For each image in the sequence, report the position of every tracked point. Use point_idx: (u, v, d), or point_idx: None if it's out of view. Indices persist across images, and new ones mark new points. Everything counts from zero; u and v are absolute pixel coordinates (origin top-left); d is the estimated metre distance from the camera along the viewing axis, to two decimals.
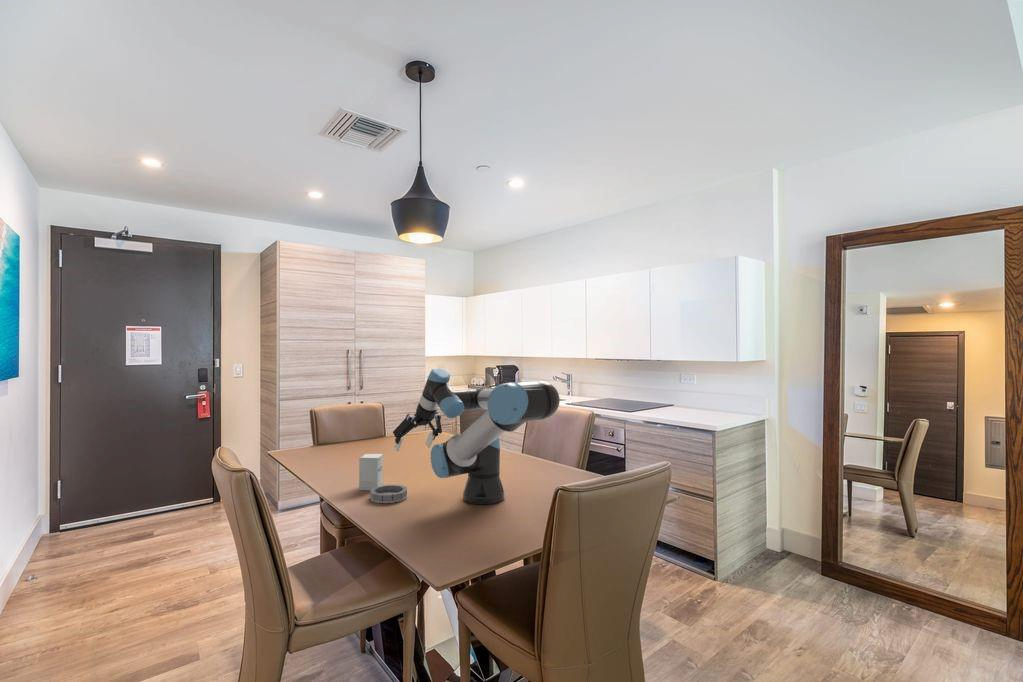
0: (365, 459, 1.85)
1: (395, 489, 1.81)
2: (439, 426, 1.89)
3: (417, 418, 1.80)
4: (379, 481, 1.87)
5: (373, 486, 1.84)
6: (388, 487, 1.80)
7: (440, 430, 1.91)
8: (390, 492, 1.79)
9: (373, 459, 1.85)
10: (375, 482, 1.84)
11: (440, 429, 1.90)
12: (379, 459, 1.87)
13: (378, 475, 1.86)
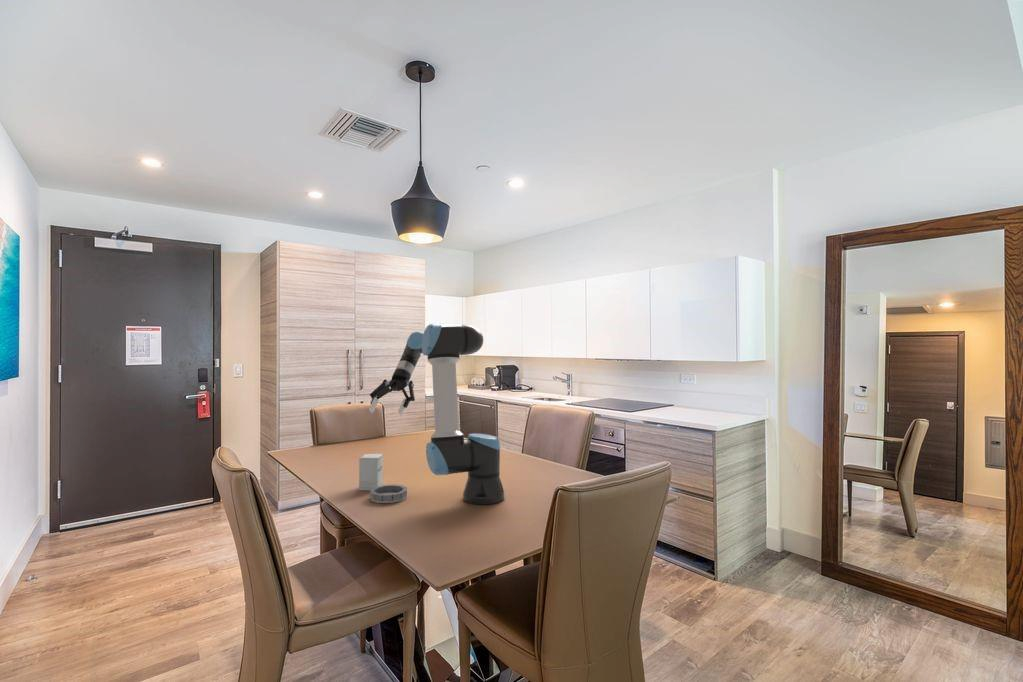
0: (365, 459, 1.85)
1: (395, 489, 1.81)
2: (410, 390, 2.03)
3: (391, 380, 2.09)
4: (379, 481, 1.87)
5: (373, 486, 1.84)
6: (388, 487, 1.80)
7: (411, 394, 2.01)
8: (390, 492, 1.79)
9: (373, 459, 1.85)
10: (375, 482, 1.84)
11: (411, 393, 2.01)
12: (379, 459, 1.87)
13: (378, 475, 1.86)
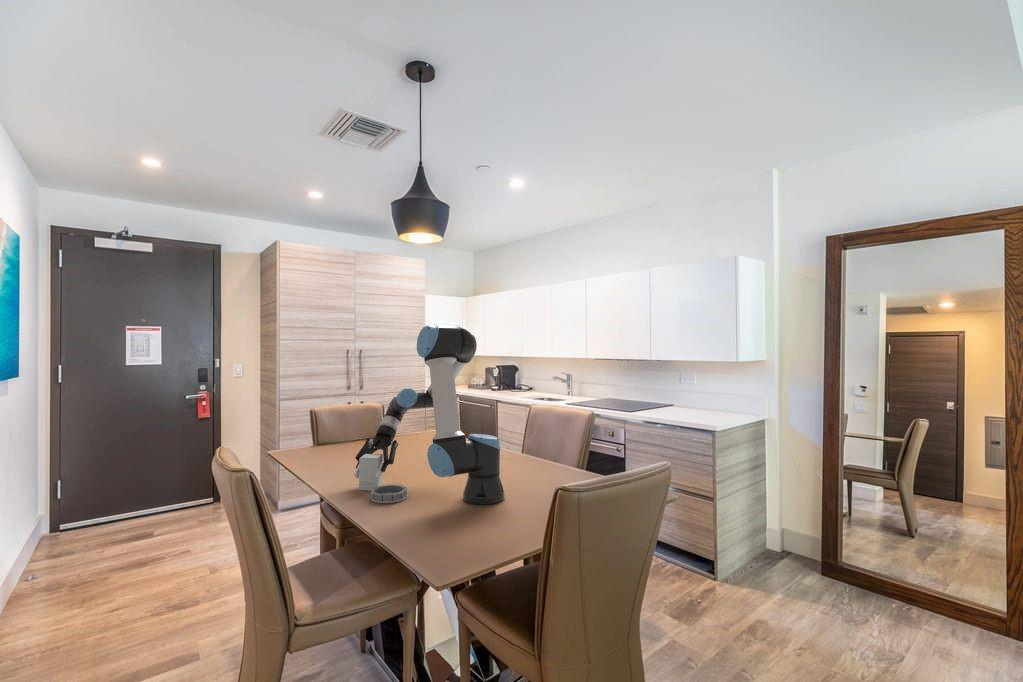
0: (365, 459, 1.85)
1: (395, 489, 1.81)
2: (391, 452, 1.90)
3: (374, 438, 1.97)
4: (379, 481, 1.87)
5: (373, 486, 1.84)
6: (388, 487, 1.80)
7: (390, 457, 1.88)
8: (390, 492, 1.79)
9: (373, 459, 1.85)
10: (375, 482, 1.84)
11: (390, 456, 1.89)
12: (379, 459, 1.87)
13: None
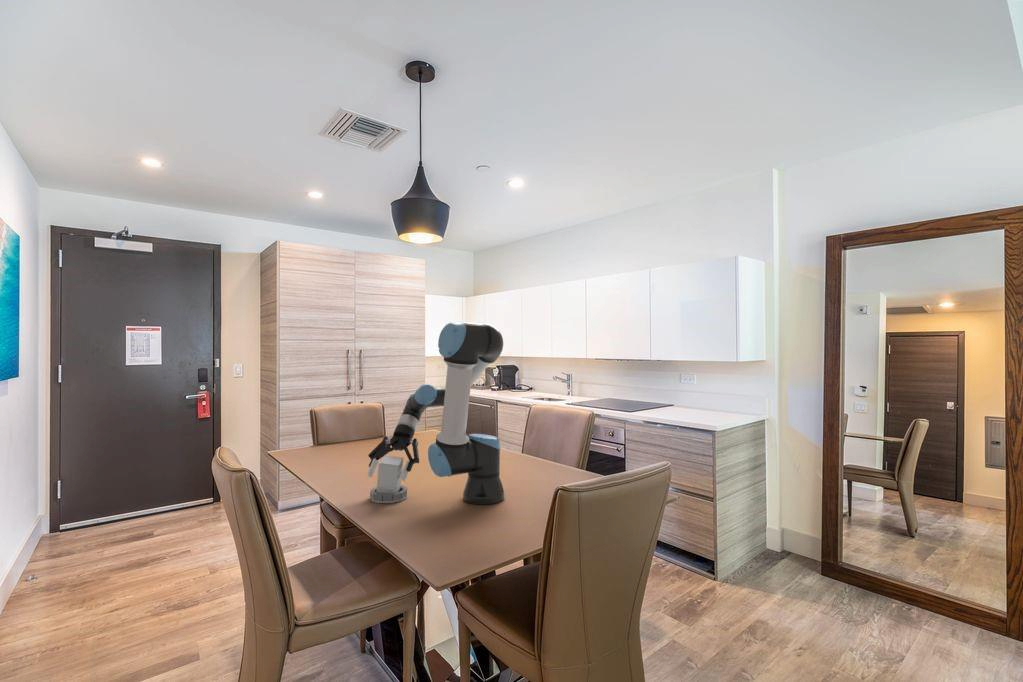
0: (385, 465, 1.70)
1: None
2: (414, 450, 1.78)
3: (392, 438, 1.85)
4: (398, 487, 1.75)
5: (391, 493, 1.72)
6: None
7: (415, 456, 1.76)
8: None
9: (393, 466, 1.70)
10: (394, 489, 1.72)
11: (415, 454, 1.77)
12: (400, 465, 1.73)
13: (398, 482, 1.73)
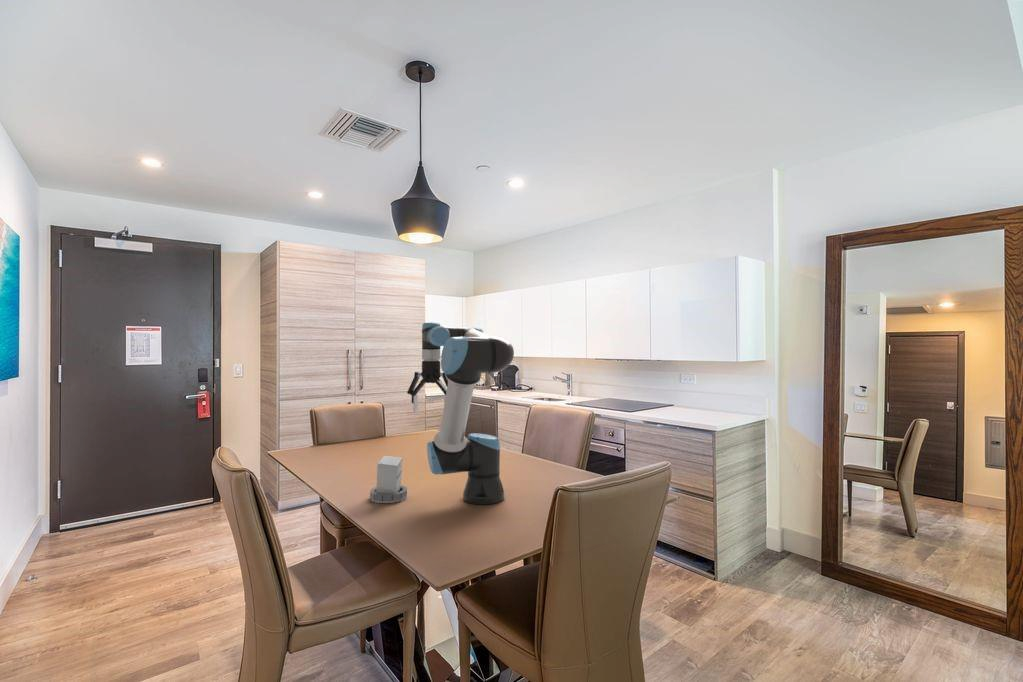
0: (384, 466, 1.70)
1: None
2: (447, 385, 1.93)
3: (422, 373, 1.96)
4: (398, 487, 1.74)
5: (391, 493, 1.72)
6: None
7: None
8: None
9: (392, 466, 1.70)
10: (393, 489, 1.72)
11: None
12: (399, 465, 1.72)
13: (397, 482, 1.73)
